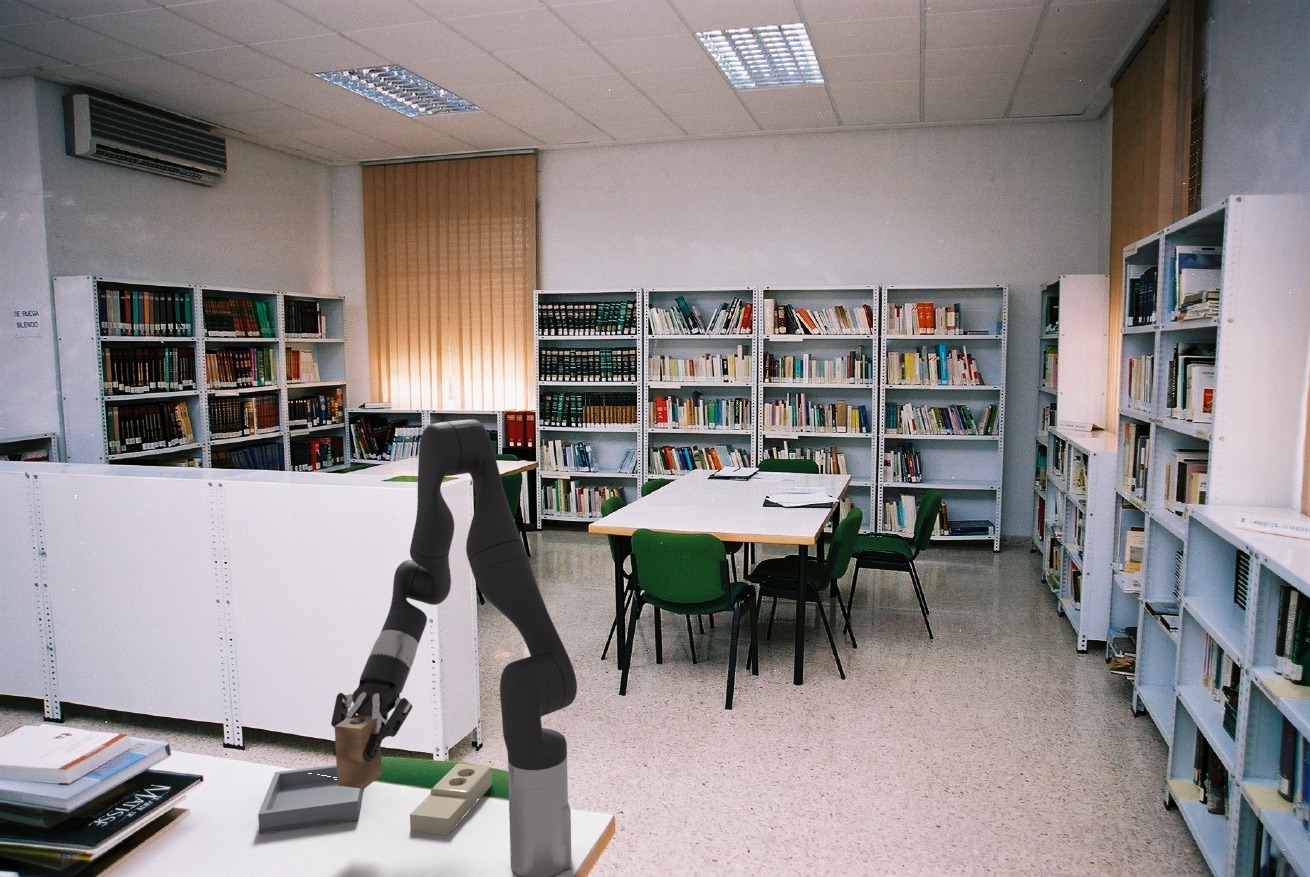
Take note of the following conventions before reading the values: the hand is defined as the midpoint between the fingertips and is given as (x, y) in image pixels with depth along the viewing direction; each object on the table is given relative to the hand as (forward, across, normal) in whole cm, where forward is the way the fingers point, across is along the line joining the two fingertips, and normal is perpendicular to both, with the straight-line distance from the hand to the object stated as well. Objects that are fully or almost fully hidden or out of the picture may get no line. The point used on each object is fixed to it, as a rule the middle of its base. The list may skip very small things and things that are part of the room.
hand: (352, 757), depth 138 cm
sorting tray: (+3, -16, +18) cm, 24 cm away
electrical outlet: (0, +9, +22) cm, 24 cm away
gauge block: (+2, 0, +5) cm, 5 cm away
